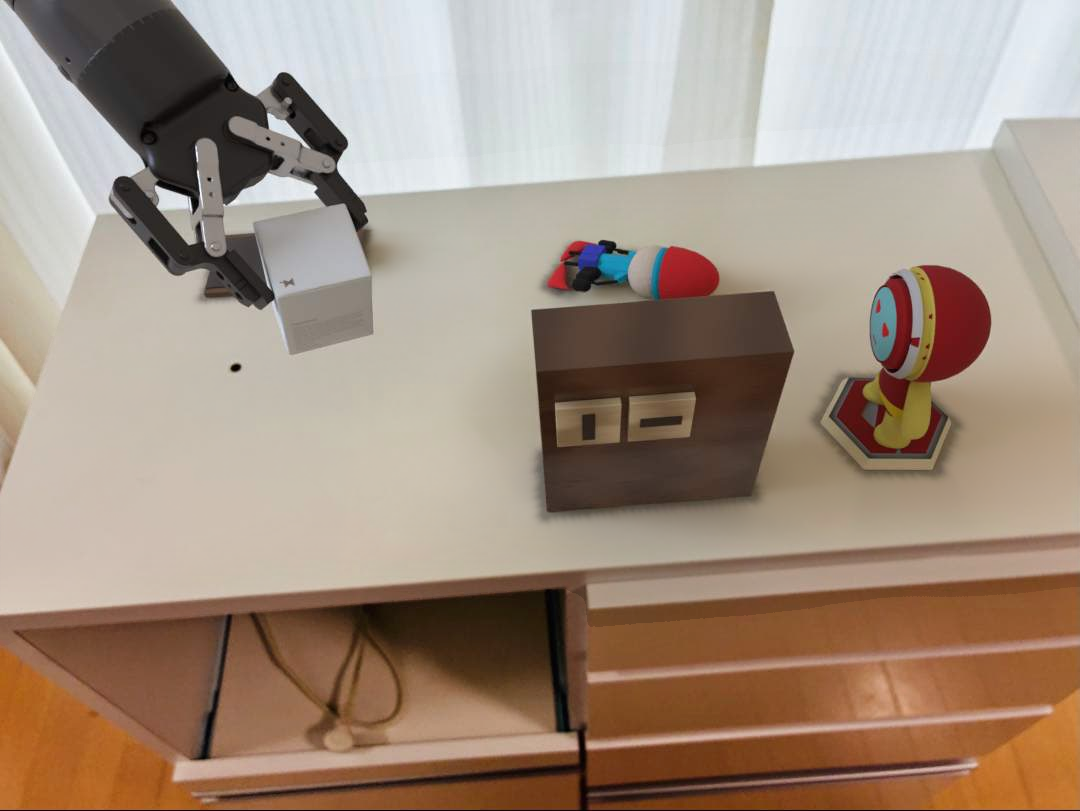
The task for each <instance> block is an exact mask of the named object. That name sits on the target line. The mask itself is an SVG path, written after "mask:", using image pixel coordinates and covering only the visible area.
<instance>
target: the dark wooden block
mask: <svg viewBox="0 0 1080 811" xmlns="http://www.w3.org/2000/svg"><path fill="white" fill-rule="evenodd" d="M530 314H531V327H532V339H533V340H532V341H533V352H534V354H533V355H534V365H535V380H536V391H537V404H538V417H539V429H540V440H541V442H540V443H541V444H540V445H541V454H542V467H543V470H542V471H543V481H544V482H543V483H544V493H545V494H544V495H545V506H546V507H545V508H546V512H549V513H550V512H563V511H575V510H577V511H578V510H588V509H600V508H601V509H602V508H613V507H614V508H615V507H625V506H640V505H653V504H654V505H655V504H665V503H678V502H689V501H690V502H691V501H704V500H705V501H706V500H715V499H717V500H718V499H728V498H729V499H730V498H742V497H752V495H753V491H754V487H755V484H756V481H757V478H758V475H759V474H758V473H759V470H760V468H761V465H762V461H763V458H764V455H765V452H766V447H767V444H768V441H769V437H770V434H771V431H772V427H773V424H774V420H775V418H776V414H777V411H778V408H779V404H780V401H781V398H782V394H783V392H784V388H785V384H786V380H787V377H788V374H789V370H790V368H791V364H792V362H793V361H792V360H793V358H794V354H795V348H794V346H793V343H792V339H791V336H790V333H789V331H788V328H787V326H786V321H785V319H784V316H783V313H782V310H781V307H780V304H779V301H778V298H777V295H776V292H775V290H770V291H769V290H768V291H755V292H754V291H753V292H742V293H728V294H717V295H709V296H702V297H689V298H676V299H663V300H655V299H652V300H651V299H650V300H638V301H637V300H636V301H625V302H613V303H612V302H611V303H599V304H588V305H587V304H585V305H575V306H573V305H572V306H562V307H561V306H560V307H548V308H536V309H531V311H530Z"/></svg>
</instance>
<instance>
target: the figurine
mask: <svg viewBox="0 0 1080 811" xmlns="http://www.w3.org/2000/svg"><path fill="white" fill-rule="evenodd" d="M991 329H992V313H991V307H990V304H989V301H988V299H987V298H986V295H985V294H984V291H983V290H982V289H981V287H980V286H979V285H978V284H977V283H976V282H975V281H974V280H973V279H972V278H970V277H969V276H968V275H966V274H964V273H963V272H961V271H960V270H957V269H954V268H951V267H948V266H943V265H939V264H921V265H917V266H912V267H910V268H901V269H899V270H897V271H895V272H893V273H892V274H891V275H889V276H888V277H887V279H886V280H885V282H884V284H882V285H881V286H880V287H878V289H877V290H876V292H875V294H874V297H873V300H872V303H871V308H870V314H869V341H870V348H871V351H872V354H873V357H874V358H875V360H876V362H878V363H880V365H881V369H880V370H879V371H878V374H877V375H876V376H875V377H847V378H843V379H841V382H840V384H839V386H838V387H837V390H836V392H835V393H834V395H833V397H832V399H831V401H830V403H829V404H828V406H827V408H826V410H825V412H824V414H823V416H822V418H821V420H820V422H819V424H820V425H821V426H822V427H823V428H824V429H825V430H826V431H827V432H828V433H829V434H830V436H831V437H832V438H833V439H834V440H835V441H836V442H837V443H838V444H839V445H840V446H841V447H842V448H843V450H845V451H846V453H847V454H849V456H850V457H851V458H852V459H853V460H854V461H855V462H856V463H857V465H858V466H859V467H861V469H862V470H866V471H868V470H873V471H875V470H879V471H881V470H882V471H886V470H887V471H933V469H934V467H935V465H936V462H937V460H938V458H939V454H940V452H941V450H942V447H943V445H944V442H945V440H946V438H947V435H948V433H949V430H950V428H951V426H952V421H951V418H950V416H948V414H946V413H945V412H944V411H943V410H942V409H941V408H940V407H939V406H938V405H936V403H935V402H934V401H932V389H931V388H932V387H931V385H932V383H933V382H940V381H944V380H948V379H951V378H952V377H955V376H957V375H959V374H960V373H962V372H964V371H965V370H966V369H968V368H969V367H970V366H972V364H974V363H975V362H976V361H977V359H978V358H979V357H980V356H981V354H982V352H984V349H985V348H986V346H987V344H988V341H989V338H990V335H991Z"/></svg>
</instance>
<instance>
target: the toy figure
mask: <svg viewBox="0 0 1080 811" xmlns="http://www.w3.org/2000/svg"><path fill="white" fill-rule="evenodd" d="M613 252H616V253H617V254H615V253H614V254H613ZM576 256H578V257H577V261H569V260H570V259H572V258H574V257H576ZM559 261H560V262H562V263H560V264H559V266H557V268H556V269H555V270H554V272H553V273H552V275H551V276H550V278H549V279H548V282H547V284H546V285H547V286H548V287H550V288H553V289H558V290H569V289H570V288H569V287H568V285H567V267H569V266H570V267H577V268H578V272H576V273H575V278H573V280H571V282H570V285H571V289H572V290H573V291H574V292H580V293H588V292H589V291H591V288H592V285H595V286H596V287H597V286H608V285H616V284H617V285H621V284H622V283H624V282H625V281H626V282H629V285H630V287H631V289H632V290H633V291H634V292H635V293H636V294H637V295H639V296H641V297H643V298H653V300H663V299H676V298H689V297H702V296H712V294H714V292H715V291H716V290H717V289H718V287H719V285H720V282H721V281H720V280H721V277H720V273H719V271H718V268H717V266H716V265H715V264H714V263H713V262H712V261H711V260H710V259H708V258H707V257H706V256H704V255H703V254H700V253H698V252H697V251H694V250H691V249H688V248H686V247H681V246H674V245H670V246H669V247H665V246H661V245H648V246H645V247H643V248H641V249H640V250H639V251H637V250H629V249H628V250H627V249H623V248H617V243H616V242H615V241H613V240H608V239H600V240H599V241H598V242H597V243H595V242H590V241H584V240H574V241H573V242H571V243H570V245H569V246H568V247H567V248H566V249H565V250H564V252H563V253H562V255H561V257H560V260H559ZM600 278H605V279H611V280H603V281H601V280H600V281H596V280H599V279H600Z"/></svg>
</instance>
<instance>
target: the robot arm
mask: <svg viewBox="0 0 1080 811" xmlns="http://www.w3.org/2000/svg"><path fill="white" fill-rule="evenodd" d="M3 2H4V3H5V4H6V5H7V6H8V7H9V8H10V9H11V10H12V12H13V13H15V15H16V16H17V17H18V19H19V20H20V21H21V22H22V23H23V25H24V27H26V29H27V30H28V32H29V33H30V35H31V36H32V37H33V39H34V41H35V42H36V43H37V44H38V46H39V47H40V48H41V49H42V51H43V52H44V54H45V55H46V56H47V57H48V58H49V59H50V61H51V62H53V64H54V65H55V66H56V67H57V70H58V72H59V73H60V75H62V76H63V78H64V79H65V80H66V81H68V82H69V83H71V84H72V85H73V86H74V87H75V89H77V91H79V93H81V95H82V96H84V98H85V99H86V100H87V101H88V102H89V104H91V106H92V107H93V109H95V110H96V111H97V112H98V113H99V114H100V115H101V117H102V118H103V119H104V120H105V121H106V122H107V124H108V125H109V126H111V127H112V129H113V130H114V131H115V132H116V133H117V134H118V136H120V137H121V139H122V140H123V141H124V142H125V143H126V144H127V145H128V146H129V147H130V148H131V149H132V151H134V152H135V153H136V154H137V155H138V157H139V158H140V159H141V161H142V163H143V166H144V167H145V168H143V169H141V170H140V171H138V172H137V173H135V174H133V175H131V176H127V175H120V176H117V177H116V178H115V179H114V181H113V183H112V186H111V190H110V192H109V195H108V202H109V204H110V206H111V207H112V208H113V210H115V212H116V213H117V215H119V216H120V218H121V219H122V220H123V221H124V222H125V223H126V224H127V225H128V227H129V228H130V230H132V231H133V233H134V234H135V235H136V236H137V237H138V238H139V239H140V241H141V242H142V243H143V244H144V245H145V246H146V248H147V249H148V250H149V251H150V252H151V253H152V254H153V256H154V257H155V258H156V259H157V261H158V262H159V263H160V264H161V265H162V266H163V267H164V268H165V269H166V270H167V272H168V273H169V274H171V275H172V276H174V277H181V276H183V275H185V274H186V273H188V272H189V273H190V272H193V271H196V270H200V269H201V270H202V269H203V270H207V271H209V272H212V273H213V274H214V275H215V276H216V277H217V278H218V280H219V281H220V282H221V283H222V284H223V285H224V286H225V287H226V288H227V289H228V290H229V292H230V293H231V294H232V295H233V296H232V297H234V298H235V299H236V300H237V301H238V303H240V304H241V305H243V306H245V307H247V308H250V307H251V306H252V305H253V306H254V307H255V308H256V309H258V310H259V311H263V309H265V308H266V307H267V306H268V305H270V304H272V303H271V302H272V301H273V300H274V299H275V295H274V293H273V292H272V291H271V290H270V288H269V287H268V286H267V285H266V284H265V283H264V282H263V281H262V280H261V278H260V277H259V276H258V275H257V274H256V273H255V272H254V271H253V270H252V268H251V267H250V266H249V265H248V264H247V263H246V262H245V261H244V260H243V258H242V257H241V256H240V255H239V254H238V253H237V252H236V251H235V250H234V249H233V250H232V251H231V252H229V251H228V250H227V247H226V239H225V235H226V232H225V225H224V216H225V206H228V205H230V204H231V203H232V202H233V201H235V200H237V198H238V196H239V195H240V194H241V192H242V191H243V190H247V189H250V188H252V187H254V186H256V185H257V184H259V183H260V182H262V181H263V180H264V179H265V178H266V176H267V175H268V174H270V175H273V176H275V177H279V178H291V179H294V180H297V181H299V182H303V183H305V184H308V185H311V186H315V187H316V189H315V191H314V192H313V193H314V194H315V195H316V196H317V198H318V199H319V200H320V201H321V203H323V205H324V207H328V206H332V205H338V204H345V205H346V207H347V209H348V212H349V214H350V217H351V219H352V222H353V224H354V227H355V230H356V232H358V231H359V230H360V229H361V228H362V227H363V228H364V227H365V226H366V225H367V224H368V223H369V219H368V217H367V215H366V213H367V212H368V209H367V208H366V205H365V203H364V201H363V200H362V199H361V198H360V197H359V195H358V194H357V193H356V192H355V191H354V190H353V188H352V187H351V186H350V184H349V183H348V182H347V181H346V179H345V178H344V177H343V176H342V175H341V174H340V171H339V170H338V163H339V161H340V159H341V157H342V155H343V154H344V152H345V151H346V150H347V148H348V147H349V140H348V139H347V137H346V136H345V134H344V133H343V132H342V131H341V130H340V128H338V126H336V124H335V123H334V122H333V120H331V118H330V117H329V116H328V115H327V114H326V113H325V111H324V110H323V109H322V108H321V107H320V106H319V104H317V102H316V101H315V100H314V99H313V98H312V97H311V96H310V94H309V93H308V92H307V91H306V90H305V89H304V88H303V86H302V85H301V84H300V83H299V82H298V81H297V79H295V77H294V76H293V75H292V74H290V73H289V72H286V71H282V72H279V73H278V74H277V75H276V77H275V78H274V79H273V80H272V82H271V84H270V85H268V86H267V87H266V88H264V89H263V90H262V91H261V92H258V94H257V95H254V94H252V93H250V92H248V91H246V90H245V89H244V88H242V87H241V86H240V85H239V84H238V82H237V81H236V79H235V78H234V75H233V74H232V73H231V71H230V69H229V68H228V66H226V64H225V63H224V62H223V61H222V59H221V58H220V57H219V56H218V54H216V52H215V51H214V50H213V49H212V48H211V46H210V45H209V44H208V43H207V42H206V40H205V39H204V38H203V37H202V36H201V34H200V33H199V32H198V31H197V30H196V28H195V27H194V26H193V25H192V24H191V22H190V21H189V20H188V19H187V18H186V16H185V15H184V14H183V13H182V12H181V10H180V9H179V8H178V7H177V5H175V3H174V2H173V1H172V0H3ZM268 114H270V115H272V116H273V117H274V118H275V119H277V120H279V121H285V122H286V123H287V124H288V125H289V126H290V127H291V129H292V130H293V131H294V132H295V134H297V135H298V136H299V138H301V140H302V141H303V142H304V143H305V144H306V146H304V145H303V144H302V142H301V141H300V140H298V139H295V138H293V137H290V136H289V135H288V136H287V135H285V134H282V133H279V132H276V131H274V130H271V129H270V125H269V119H268V118H269V117H268ZM307 146H308V147H307ZM156 187H158V188H160V189H162V190H166V191H169V192H172V193H174V194H178V195H182V196H185V197H187V205H188V214H189V220H190V227H191V230H192V232H193V238H194V243H191V244H188V242H187V241H186V240H185V239H184V238H183V236H182V235H181V234H180V233H179V232H178V230H177V229H176V228H175V227H174V226H173V224H171V222H170V221H169V220H168V219H167V218H166V216H165V215H164V214H163V213H162V211H160V209H159V208H158V205H159V203H160V197H159V195H158V193H157V191H156ZM224 205H225V206H224Z"/></svg>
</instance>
